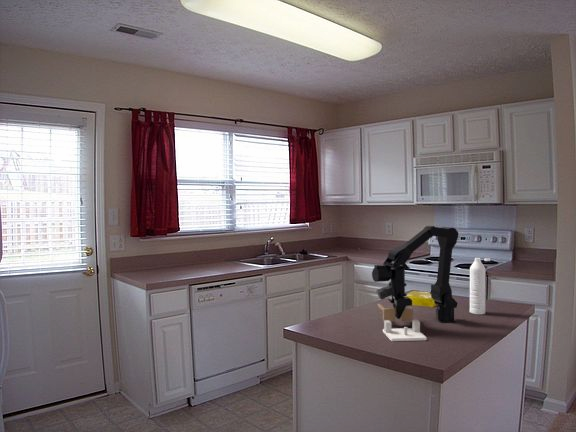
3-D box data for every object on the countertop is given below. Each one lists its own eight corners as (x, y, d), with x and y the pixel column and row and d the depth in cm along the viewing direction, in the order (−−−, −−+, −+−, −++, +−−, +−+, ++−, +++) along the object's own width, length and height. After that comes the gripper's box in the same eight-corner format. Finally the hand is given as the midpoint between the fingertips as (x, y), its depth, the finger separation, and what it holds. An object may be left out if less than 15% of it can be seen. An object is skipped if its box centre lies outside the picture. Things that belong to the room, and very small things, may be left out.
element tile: (441, 302, 220) (441, 292, 220) (434, 308, 207) (434, 298, 207) (412, 298, 228) (412, 289, 228) (403, 304, 215) (403, 295, 215)
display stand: (382, 331, 170) (382, 319, 170) (415, 330, 171) (415, 318, 171) (391, 341, 158) (391, 327, 158) (426, 340, 159) (426, 327, 159)
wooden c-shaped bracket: (377, 315, 187) (377, 303, 187) (405, 314, 188) (405, 303, 188) (383, 321, 177) (383, 309, 177) (412, 320, 178) (412, 308, 178)
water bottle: (467, 313, 196) (467, 257, 195) (472, 310, 201) (472, 256, 200) (487, 316, 190) (487, 259, 190) (492, 313, 195) (492, 258, 194)
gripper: (372, 276, 187) (372, 312, 188) (384, 285, 168) (384, 325, 169) (398, 276, 188) (398, 312, 188) (412, 284, 169) (412, 324, 169)
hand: (397, 318), depth 179 cm, fingers closed on wooden c-shaped bracket
